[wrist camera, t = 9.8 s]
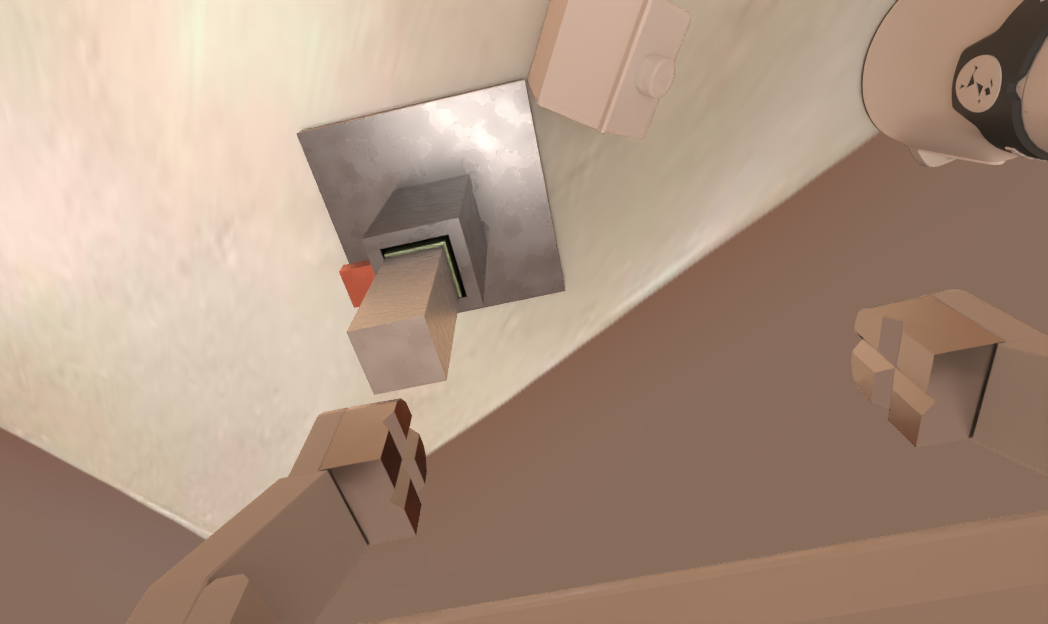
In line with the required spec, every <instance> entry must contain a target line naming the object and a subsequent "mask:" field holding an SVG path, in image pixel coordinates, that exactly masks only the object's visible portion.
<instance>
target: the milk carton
mask: <svg viewBox="0 0 1048 624" xmlns="http://www.w3.org/2000/svg"><path fill="white" fill-rule="evenodd" d="M691 16H692V15H691V14H689V13H687V12H685V11H684V10H682V9H680V8H679V7H677V6H675V5H673V4H672V3H670V2H668V1H667V0H550V4H549V7H548V11H547V14H546V18H545V21H544V25H543V28H542V32H541V35H540V39H539V42H538V46H537V49H536V53H535V56H534V60H533V63H532V67H531V70H530V74H529V77H528V84H529V87H530V89H531V91H532V93H533V95H534V97H535V99H536V101H537V103H538V105H539V106H542V107H544V108H546V109H549V110H551V111H553V112H556V113H558V114H561V115H563V116H565V117H568V118H570V119H572V120H575V121H577V122H580V123H582V124H584V125H587V126H589V127H592V128H594V129H596V130H598V131H599V132H600V133H602V134H604V133H605V132H608V133H613V134H618V135H623V136H628V137H633V138H638V139H643V137H644V135H645V133H646V131H647V128H648V126H649V124H650V121H651V119H652V116H653V114H654V111H655V109H656V106H657V104H658V101H659V99H660V97H662V96H663V95H665V93H666V92H667V91H668V89H669V88H670V86H671V84H672V81H673V78H674V75H675V64H674V61H675V59H676V56H677V54H678V51H679V49H680V46H681V44H682V41H683V39H684V36H685V34H686V31H687V28H688V26H689V23H690V20H691Z"/></svg>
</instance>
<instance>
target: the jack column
mask: <svg viewBox="0 0 1048 624" xmlns="http://www.w3.org/2000/svg"><path fill="white" fill-rule="evenodd" d="M384 256H385V258H384V260H383V262H382V264H381V266H380V268H379V270H378V272H377V274H376V276H375V278H374V280H373V282H372V284H371V286H370V288H369V289H368V291H367V293H366V295H365V297H364V299H363V301H362V303H361V305H360V307H359V309H358V311H357V313H356V315H355V317H354V319H353V320H352V322H351V324H350V326H349V328H348V330H347V334H348V336H349V339H350V341H351V343H352V345H353V348H354V350H355V352H356V355H357V357H358V359H359V361H360V364H361V366H362V368H363V371H364V373H365V375H366V377H367V380H368V382H369V384H370V386H371V389H372V391H373V393H374V395H375V394H380V393H385V392H390V391H395V390H401V389H406V388H411V387H416V386H421V385H426V384H431V383H436V382H441V381H446V380H447V374H448V368H449V362H450V355H451V349H452V343H453V337H454V330H455V324H456V318H457V311H458V305H459V299H460V297H462V291H463V290H462V287H461V286H462V278H461V275H460V271H459V268H458V265H457V261H456V258H455V254H454V251H453V248H452V244H451V241H450V238H449V234H448V235H443V236H439V237H434V238H429V239H425V240H420V241H416V242H411V243H406V244H402V245H397V246H393V247H390V249H387V250H386V252H385V254H384Z"/></svg>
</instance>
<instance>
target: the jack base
mask: <svg viewBox="0 0 1048 624" xmlns="http://www.w3.org/2000/svg"><path fill="white" fill-rule="evenodd" d="M297 136H298V138H299V141H300V143H301V146H302V148H303V151H304V153H305V156H306V158H307V161H308V163H309V166H310V168H311V170H312V173H313V175H314V178H315V180H316V183H317V185H318V188H319V190H320V193H321V195H322V198H323V200H324V202H325V205H326V207H327V210H328V212H329V215H330V217H331V220H332V222H333V225H334V227H335V230H336V232H337V234H338V237H339V239H340V242H341V244H342V247H343V249H344V252H345V254H346V257H347V259H348V262H349V264H347V265H343V267H342V268H341V270H340V271H339V273H340V275H341V277H342V280H343V282H344V284H345V287H346V289H347V292H348V294H349V296H350V299H351V301H352V304H353V306H354V308H355V307H360V305H361V303H362V301H363V299H364V297H365V295H366V293H367V291H368V289H369V288H370V286H371V284H372V282H373V280H374V278H375V276H376V274H377V272H378V270H379V268H380V266H381V264H382V262H383V260H384V258H385V256H384V254H385V252H386V250H387V249H390V247H393V246H397V245H402V244H406V243H411V242H416V241H420V240H425V239H429V238H434V237H439V236H443V235H448V234H449V238H450V241H451V244H452V248H453V251H454V254H455V258H456V261H457V265H458V268H459V271H460V275H461V278H462V286H461V287H462V290H463V291H462V297H460V299H459V305H458V311H457V313H460V312H464V311H469V310H474V309H479V308H484V307H489V306H494V305H499V304H503V303H508V302H513V301H518V300H523V299H528V298H533V297H537V296H542V295H547V294H552V293H557V292H562V291H565V286H564V281H563V276H562V271H561V265H560V260H559V255H558V250H557V245H556V240H555V234H554V229H553V224H552V219H551V214H550V209H549V203H548V198H547V193H546V188H545V183H544V178H543V173H542V167H541V162H540V157H539V152H538V147H537V142H536V136H535V131H534V126H533V121H532V116H531V111H530V105H529V100H528V95H527V90H526V85H525V80H524V79H520V80H516V81H511V82H507V83H503V84H499V85H494V86H490V87H486V88H482V89H477V90H473V91H469V92H465V93H460V94H456V95H452V96H448V97H443V98H439V99H435V100H431V101H426V102H422V103H418V104H414V105H409V106H405V107H401V108H397V109H392V110H388V111H384V112H379V113H375V114H371V115H367V116H362V117H358V118H354V119H350V120H345V121H341V122H337V123H333V124H328V125H324V126H320V127H316V128H311V129H307V130H303V131H301V132H299V133H297Z"/></svg>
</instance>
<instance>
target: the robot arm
mask: <svg viewBox="0 0 1048 624" xmlns="http://www.w3.org/2000/svg"><path fill="white" fill-rule="evenodd" d="M863 97H864V102H865V106H866V109H867V112H868V114H869V116H870V118H871V120H872V121H873V123H874V124H875V125H876V126H877V128H878V129H879V130H880V131H882V132H883V133H884V134H886V135H887V136H889V137H890V138H892V139H895V140H897V141H899V142H901V143H903V144H904V145H906V146H907V147H908V148H909V150H910V152H911V153H912V155H913V156H914V158H915V159H916V161H917V162H918V163H919V164H920V165H922V166H927V167H938V166H941V165H943V164H946V163H948V162H951V161H954V160H956V159H961V160H967V161H973V162H978V163H984V164H989V165H1001V164H1003V163H1004V162H1005V161H1006V160H1010V159H1014V158H1016V157H1019V156H1020V157H1024V158H1028V159H1034V160H1039V161H1040V160H1041V161H1048V0H898V1H897V3H896V4H895V5H894V6H893V7H892V9H891V10H890V11H889V13H888V14H887V16H886V17H885V19H884V20H883V22H882V23H881V25H880V27H879V29H878V30H877V32H876V34H875V36H874V39H873V41H872V43H871V46H870V48H869V51H868V54H867V58H866V62H865V66H864V73H863ZM855 332H856V333H857V334H858V335H859V336H860V337H861V338H862V340H861V342H860V343H859V344H858V345H857V347H856V348H855V349H854V350H853V351H852V362H851V369H852V373H853V376H854V379H855V383H856V384H857V386H858V388H859V390H860V391H861V393H862V394H863V395H864V396H865V397H866V398H867V399H868V400H869V401H870V402H871V403H873V404H875V405H878V406H880V407H883V408H886V409H888V410H889V414H888V421H889V422H890V423H891V424H892V425H893V426H895V427H896V428H897V430H898V431H900V432H901V433H902V435H904V436H905V437H906V438H907V439H908V440H909V441H910V442H911V443H912V444H913V445H914V446H915V447H923V446H930V445H936V444H943V443H950V442H955V441H963V440H969V439H972V442H974V443H976V444H978V445H980V446H982V447H984V448H986V449H988V450H990V451H993V452H995V453H997V454H999V455H1001V456H1003V457H1005V458H1008V459H1010V460H1012V461H1014V462H1016V463H1018V464H1020V465H1022V466H1024V467H1026V468H1029V469H1031V470H1033V471H1035V472H1037V473H1039V474H1041V475H1043V476H1046V477H1048V334H1047V335H1043V334H1042V333H1040V332H1038V331H1036V330H1035V329H1033V328H1031V327H1029V326H1027V325H1026V324H1024V323H1022V322H1020V321H1018V320H1017V319H1015V318H1013V317H1011V316H1009V315H1008V314H1006V313H1004V312H1002V311H1000V310H998V309H997V308H995V307H993V306H991V305H989V304H988V303H986V302H984V301H982V300H980V299H978V298H977V297H975V296H973V295H971V294H970V293H968V292H966V291H964V290H957V289H950V290H946V291H941V292H937V293H933V294H928V295H924V296H921V297H917V298H913V299H908V300H903V301H898V302H894V303H889V304H884V305H880V306H875V307H869V308H865V309H861V310H860V312H859V314H858V315H857V317H856V323H855ZM411 418H412V415H411V412H410V410H409V408H408V406H407V403H406V402H405V401H404V400H402V399H401V398H400V399H394V400H389V401H383V402H377V403H371V404H366V405H360V406H354V407H350V408H343V409H338V410H333V411H328V412H324V413H322V414H320V415H319V416H318V417H317V419H316V421H315V423H314V425H313V427H312V429H311V431H310V433H309V435H308V437H307V439H306V441H305V443H304V446H303V448H302V450H301V452H300V454H299V456H298V458H297V460H296V462H295V464H294V466H293V468H292V470H291V472H290V474H289V476H288V477H286V478H281V479H279V480H278V481H276V482H275V483H274V484H273V485H272V486H270V487H269V488H268V489H267V490H266V491H264V492H263V493H262V494H261V495H260V496H258V497H257V498H256V499H255V500H254V501H252V502H251V503H250V504H249V505H247V506H246V507H245V508H244V509H243V510H241V511H240V512H239V513H238V514H237V515H235V516H234V517H233V518H232V519H231V520H229V521H228V522H227V523H226V524H225V525H223V526H222V527H221V528H220V529H219V530H217V531H216V532H215V533H214V534H213V535H211V536H210V537H209V538H208V539H207V540H205V541H204V542H203V543H202V544H201V545H199V546H198V547H197V548H196V549H194V551H192V552H191V553H190V554H188V555H187V556H186V557H185V558H184V559H182V560H181V561H180V562H179V563H178V564H177V565H175V566H174V567H173V568H172V569H170V570H169V571H168V572H167V573H166V574H164V575H163V576H162V577H161V578H160V579H158V580H157V581H156V582H155V583H154V584H152V585H151V586H150V587H149V588H148V589H147V591H146V592H145V594H144V595H143V597H142V598H141V600H140V601H139V603H138V605H137V606H136V608H135V609H134V611H133V612H132V614H131V616H130V617H129V619H128V620H127V622H126V624H314V623H315V621H316V620H317V619H318V617H319V616H320V615H321V613H322V612H323V611H324V609H325V608H326V607H327V605H328V604H329V602H330V601H331V600H332V598H333V597H334V595H335V594H336V593H337V592H338V590H339V589H340V587H341V586H342V585H343V583H344V582H345V581H346V579H347V578H348V576H349V575H350V573H351V572H352V571H353V570H354V568H355V567H356V565H357V564H358V563H359V561H360V560H361V559H362V557H363V556H364V554H365V553H366V552H367V551H368V549H369V547H368V546H370V545H375V544H380V543H384V542H389V541H394V540H399V539H404V538H409V537H414V536H416V534H417V528H418V523H419V517H420V511H421V505H422V504H421V502H420V500H419V497H418V495H417V493H418V492H419V491H420V490H421V489H422V488H423V486H424V485H425V481H426V475H427V464H426V454H425V449H424V445H423V442H422V440H421V437H420V434H418V433H417V432H415V431H414V430H412V429H411V428H409V427H410V422H411ZM361 624H1048V509H1045V510H1040V511H1033V512H1027V513H1022V514H1016V515H1009V516H1003V517H997V518H991V519H985V520H980V521H973V522H967V523H961V524H955V525H949V526H943V527H937V528H931V529H925V530H919V531H913V532H907V533H901V534H895V535H889V536H883V537H877V538H871V539H865V540H859V541H853V542H847V543H841V544H834V545H828V546H822V547H816V548H810V549H805V550H799V551H792V552H787V553H780V554H774V555H768V556H763V557H757V558H750V559H744V560H738V561H733V562H727V563H721V564H715V565H709V566H703V567H697V568H691V569H685V570H679V571H673V572H667V573H661V574H655V575H649V576H643V577H637V578H631V579H625V580H619V581H613V582H607V583H601V584H596V585H589V586H583V587H577V588H571V589H565V590H559V591H553V592H547V593H541V594H535V595H529V596H523V597H517V598H511V599H505V600H499V601H493V602H487V603H481V604H475V605H470V606H463V607H458V608H451V609H445V610H439V611H433V612H427V613H422V614H415V615H409V616H404V617H397V618H391V619H385V620H379V621H373V622H367V623H361Z"/></svg>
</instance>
